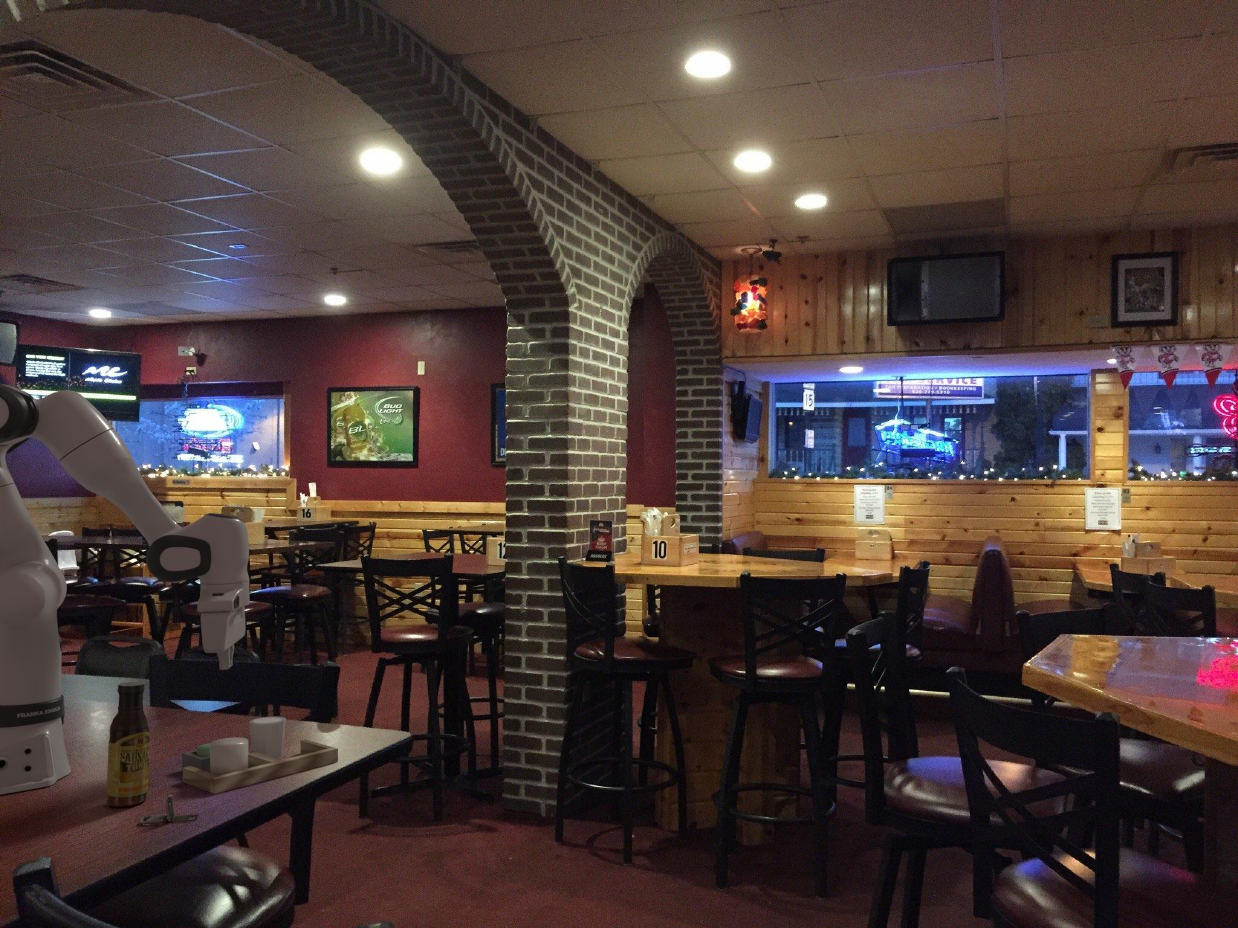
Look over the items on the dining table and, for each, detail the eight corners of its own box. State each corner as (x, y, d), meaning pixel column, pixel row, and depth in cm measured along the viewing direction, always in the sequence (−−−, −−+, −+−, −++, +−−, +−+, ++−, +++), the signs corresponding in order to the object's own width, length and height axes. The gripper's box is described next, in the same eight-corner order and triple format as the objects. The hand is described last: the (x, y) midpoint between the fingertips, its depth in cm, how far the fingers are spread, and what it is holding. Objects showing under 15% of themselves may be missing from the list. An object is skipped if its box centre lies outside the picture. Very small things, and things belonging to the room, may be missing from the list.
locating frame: (214, 793, 172) (214, 779, 172) (182, 781, 179) (182, 767, 179) (337, 761, 191) (337, 748, 191) (304, 751, 198) (304, 739, 198)
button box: (201, 777, 182) (201, 759, 182) (182, 770, 186) (182, 752, 186) (237, 768, 187) (237, 751, 187) (217, 761, 191) (217, 744, 191)
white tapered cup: (274, 761, 192) (274, 724, 192) (241, 759, 193) (242, 723, 193) (292, 751, 198) (292, 716, 199) (261, 749, 200) (261, 714, 200)
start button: (204, 765, 183) (204, 750, 183) (192, 761, 186) (192, 746, 186) (226, 760, 187) (227, 745, 187) (214, 756, 190) (214, 741, 190)
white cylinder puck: (221, 788, 175) (221, 748, 175) (203, 781, 179) (203, 742, 179) (255, 780, 180) (255, 741, 180) (236, 773, 184) (236, 735, 184)
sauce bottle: (120, 811, 163) (121, 689, 163) (98, 804, 166) (99, 685, 167) (157, 800, 169) (157, 682, 169) (135, 794, 172) (136, 678, 172)
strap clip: (137, 828, 156) (137, 800, 156) (141, 821, 159) (141, 794, 159) (196, 823, 158) (196, 796, 158) (199, 816, 161) (199, 790, 161)
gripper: (220, 591, 203) (221, 659, 203) (194, 604, 183) (195, 679, 183) (252, 590, 204) (253, 657, 204) (230, 602, 184) (231, 677, 184)
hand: (226, 668), depth 193 cm, fingers closed
